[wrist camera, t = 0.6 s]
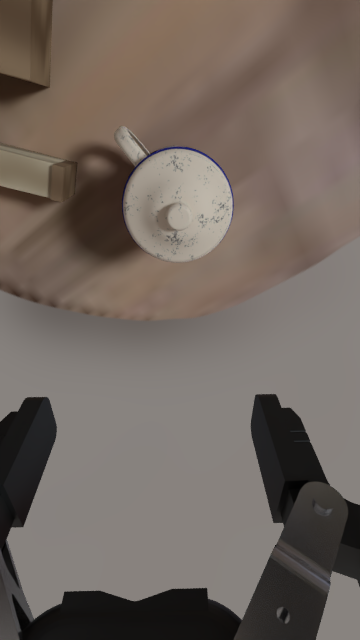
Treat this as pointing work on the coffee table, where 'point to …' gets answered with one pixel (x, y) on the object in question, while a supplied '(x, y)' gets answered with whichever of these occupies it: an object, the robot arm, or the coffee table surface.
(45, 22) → the tan rectangular block
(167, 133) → the coffee table surface
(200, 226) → the teacup with lid
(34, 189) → the cream long bar
